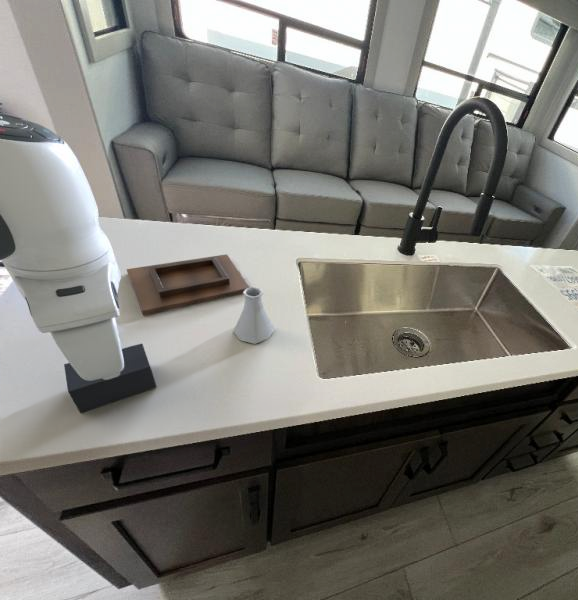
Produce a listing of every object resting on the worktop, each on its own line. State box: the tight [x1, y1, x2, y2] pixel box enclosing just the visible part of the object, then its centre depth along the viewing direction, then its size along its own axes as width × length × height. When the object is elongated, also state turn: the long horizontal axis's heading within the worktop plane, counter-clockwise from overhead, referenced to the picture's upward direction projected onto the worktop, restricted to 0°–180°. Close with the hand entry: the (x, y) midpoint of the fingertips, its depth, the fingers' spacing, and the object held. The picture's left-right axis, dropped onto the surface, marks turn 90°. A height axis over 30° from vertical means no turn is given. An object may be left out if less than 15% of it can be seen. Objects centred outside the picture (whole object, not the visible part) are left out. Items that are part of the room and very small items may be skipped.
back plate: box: [126, 253, 251, 316], centre depth 72 cm, size 20×15×3 cm
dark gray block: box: [63, 343, 158, 414], centre depth 49 cm, size 9×6×5 cm, turn 130°
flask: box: [232, 286, 276, 345], centre depth 63 cm, size 7×7×10 cm
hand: (106, 351), depth 46 cm, fingers open, 8 cm apart
